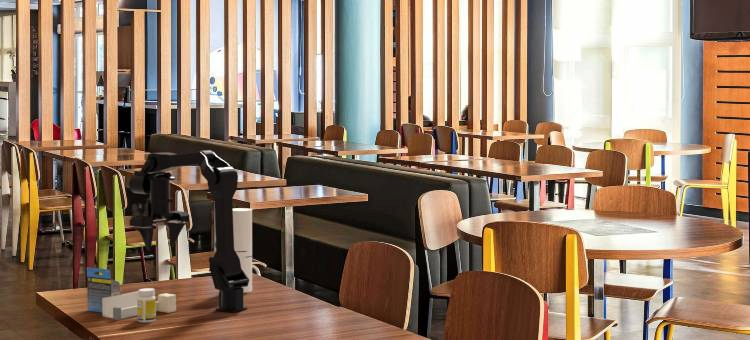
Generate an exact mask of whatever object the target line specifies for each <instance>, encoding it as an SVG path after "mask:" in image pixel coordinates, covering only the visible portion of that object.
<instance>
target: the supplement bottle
mask: <svg viewBox="0 0 750 340" xmlns="http://www.w3.org/2000/svg"><path fill="white" fill-rule="evenodd" d="M151 288H152V287H151ZM151 288H149V287H148V288H146V287H145V288H140V289H138V291H139V297H138V298H137V310H138V315H137V321H138V322H139V323H144V324H145V323H154V322H155V321H156V320H157V311H156V300H157V299H156V295H155V296H153V295H154V289H155V288H154V289H151Z"/></svg>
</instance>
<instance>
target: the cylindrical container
mask: <svg viewBox="0 0 750 340" xmlns="http://www.w3.org/2000/svg"><path fill="white" fill-rule="evenodd" d="M233 232H234V250H235V252H236V253H237V255H238V257H239V258H240V263H241V269H242V270H243V271H244V273H245V274H246V276H247V277H248V279H249V283H248V286H247V287H242V288H243V294H247V293H252V291H253V209H252V208H246V207H245V208H244V207H242V208H241V207H237V208H234V207H233ZM229 282H233V281H229Z"/></svg>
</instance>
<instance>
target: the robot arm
mask: <svg viewBox="0 0 750 340" xmlns="http://www.w3.org/2000/svg"><path fill="white" fill-rule="evenodd" d="M189 166H198V167H199V168H200V169H199V170H200V174H201V175H202V177H203V178H204V179H205V180H206V181H207V188H208V191H209V193H210V195H211V196H212V198H213V199H214V200H213V201H214V220H215V221H214V222H215V225H214V227H215V246H216V247H215V252H214V255H213V256H210V257H209V258H208V263H209V269H208V272H210V276H211V277H210V278H212V283H213V286H214V290H217V291H219V292H218V307H215V310H216V311H222V312H227V313H235V312H239V311H243V310H248V306H244V293H243V288H242V287H247V286H248V283H249V279H248V277H247V276H246V274H245V273H244V271H243V270H242V269H241V263H240V258H239V257H238V255H237V253H236V252H235V250H234V232H233V209H234V207H233V198H234V196H235V194H236V192H237V189H238V184H239V183H238V181H239V175H238V174H239V173H238V171H237V170H235V168H234V167H233V166H231V165H230V164H229V163H228V162H227V161H226V160H224V159H222V158H221V157H219V156H218V155H217V154H216V153H215V151H213V150H210V149H209V150H208V149H207V150H198V151H195V152H186V153H185V152H184V153H175V152H168V151H167V152H151V153H148V155H147V157H146V160H145V161H144V164H143V166H142V167H141V168H140V170H134V171H133V175H131V176H130V179H129V182H128V188H129V190H130V191H131V193H134V194H141V195H149V198H147V199H146V204H141V203H139V202H138V203H133V204H132V205H131V212H132V216H131V217H130V218H129V227H133V229H135V230H137V231H138V232H139V233H140V236H141V237H142V240H143V243H144V247H145V249H146V250H147V251H150V250H151V249H152V245H153V244H152V243H153V237H154V231H155V227H152V226H153V225H154V223H155V224H157V223H162V222H163V223H164V222H165V223H166V225H167V227H168V231H169V232H168V236H169V237H168V238H169V239H168V240H169V246H170V247H171V248H172V247H174V246H175V244H176V242H177V240H178V237H179V235H180V234H181V232H182V230H183V229H184V226H187V222H190V214H189V213H188V212H187V211H179V210H174V211H171V203H173V202H174V198H171V183H170V182H171V181H175V180H176V178H175V176H174V175H173V174H172V173H171V171H174V170H176V169H177V168H180V167H189ZM229 281H233V282H229Z"/></svg>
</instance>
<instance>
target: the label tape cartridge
mask: <svg viewBox="0 0 750 340" xmlns="http://www.w3.org/2000/svg"><path fill="white" fill-rule="evenodd" d="M98 272H99V274H96V273H98ZM111 276H112V275H111V269H106V268H105V269H104V268H98V267H89V266H86V287H87V288H86V290H87V292H86V294H87V297H86V298H87V312H94V313H102V298H106V297H111V296H116V295H121V291H120V289H121V286H120V283H121V282H120V281H117V280H116V279H113V278H112V277H111Z"/></svg>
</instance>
